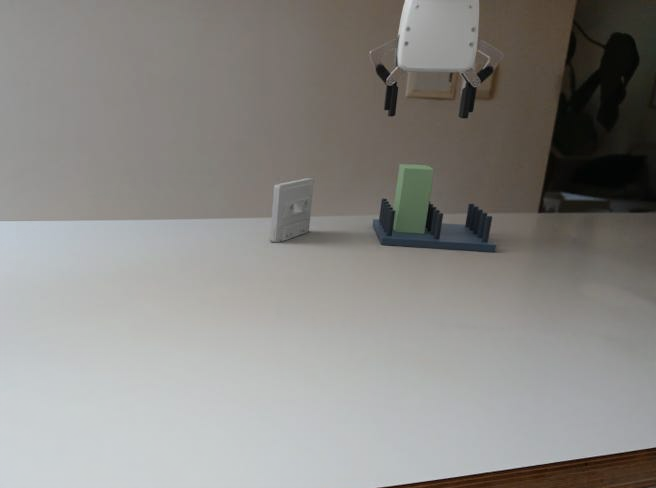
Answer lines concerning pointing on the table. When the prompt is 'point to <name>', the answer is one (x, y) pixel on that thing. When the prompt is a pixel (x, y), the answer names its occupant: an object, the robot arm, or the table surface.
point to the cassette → (291, 209)
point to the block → (412, 198)
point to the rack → (438, 231)
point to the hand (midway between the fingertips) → (426, 117)
